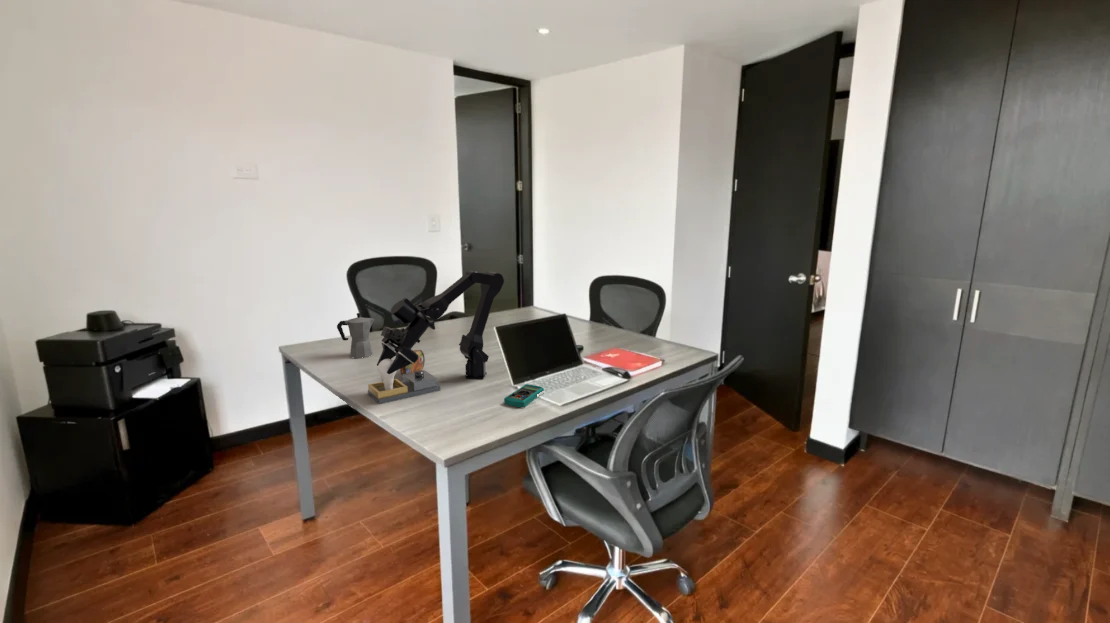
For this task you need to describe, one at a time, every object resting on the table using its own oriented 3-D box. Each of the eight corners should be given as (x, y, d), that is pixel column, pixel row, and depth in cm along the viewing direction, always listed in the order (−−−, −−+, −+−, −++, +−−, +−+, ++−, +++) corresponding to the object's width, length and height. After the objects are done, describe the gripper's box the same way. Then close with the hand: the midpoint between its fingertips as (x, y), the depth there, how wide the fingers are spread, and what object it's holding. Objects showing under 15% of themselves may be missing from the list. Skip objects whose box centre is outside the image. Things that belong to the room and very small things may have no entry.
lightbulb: (402, 389, 169) (400, 357, 166) (391, 395, 163) (389, 362, 161) (386, 387, 171) (385, 355, 168) (375, 393, 165) (373, 360, 163)
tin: (407, 381, 181) (405, 358, 179) (398, 380, 182) (397, 358, 180) (425, 368, 195) (424, 347, 194) (418, 367, 196) (417, 346, 194)
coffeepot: (373, 350, 218) (370, 309, 215) (381, 355, 211) (378, 313, 208) (336, 356, 209) (332, 313, 205) (343, 361, 202) (339, 317, 198)
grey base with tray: (426, 381, 181) (426, 365, 180) (440, 390, 172) (439, 373, 171) (368, 393, 168) (366, 376, 167) (379, 404, 160) (378, 386, 159)
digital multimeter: (502, 405, 161) (502, 397, 160) (525, 390, 174) (525, 382, 173) (522, 410, 158) (522, 401, 157) (544, 394, 171) (544, 386, 170)
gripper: (385, 312, 171) (354, 349, 167) (407, 322, 157) (373, 363, 153) (409, 331, 178) (379, 367, 173) (431, 343, 163) (400, 382, 159)
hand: (382, 369), depth 164 cm, fingers open, 9 cm apart
